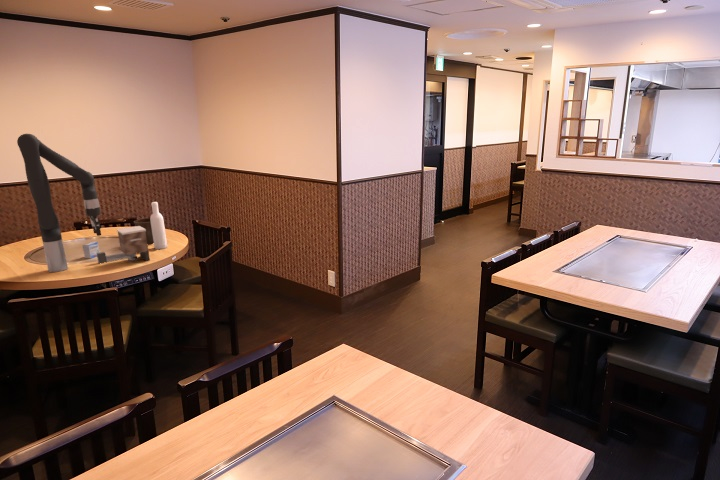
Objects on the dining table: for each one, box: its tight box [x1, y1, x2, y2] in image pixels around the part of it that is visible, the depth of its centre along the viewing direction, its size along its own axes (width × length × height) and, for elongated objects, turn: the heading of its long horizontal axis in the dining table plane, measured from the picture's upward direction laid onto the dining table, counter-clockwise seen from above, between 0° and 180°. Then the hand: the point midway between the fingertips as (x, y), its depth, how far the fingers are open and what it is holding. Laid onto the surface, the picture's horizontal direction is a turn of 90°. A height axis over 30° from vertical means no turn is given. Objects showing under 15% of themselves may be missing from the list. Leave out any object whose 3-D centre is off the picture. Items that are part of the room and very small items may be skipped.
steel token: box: [127, 255, 139, 262], centre depth 279 cm, size 5×5×2 cm
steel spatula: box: [96, 251, 137, 265], centre depth 281 cm, size 20×3×6 cm, turn 129°
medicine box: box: [82, 241, 100, 259], centre depth 289 cm, size 8×4×9 cm, turn 168°
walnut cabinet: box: [116, 225, 151, 262], centre depth 275 cm, size 13×14×19 cm
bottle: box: [149, 201, 168, 250], centre depth 301 cm, size 8×8×30 cm
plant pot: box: [133, 217, 154, 245], centre depth 316 cm, size 15×15×16 cm
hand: (97, 234), depth 272 cm, fingers open, 8 cm apart
